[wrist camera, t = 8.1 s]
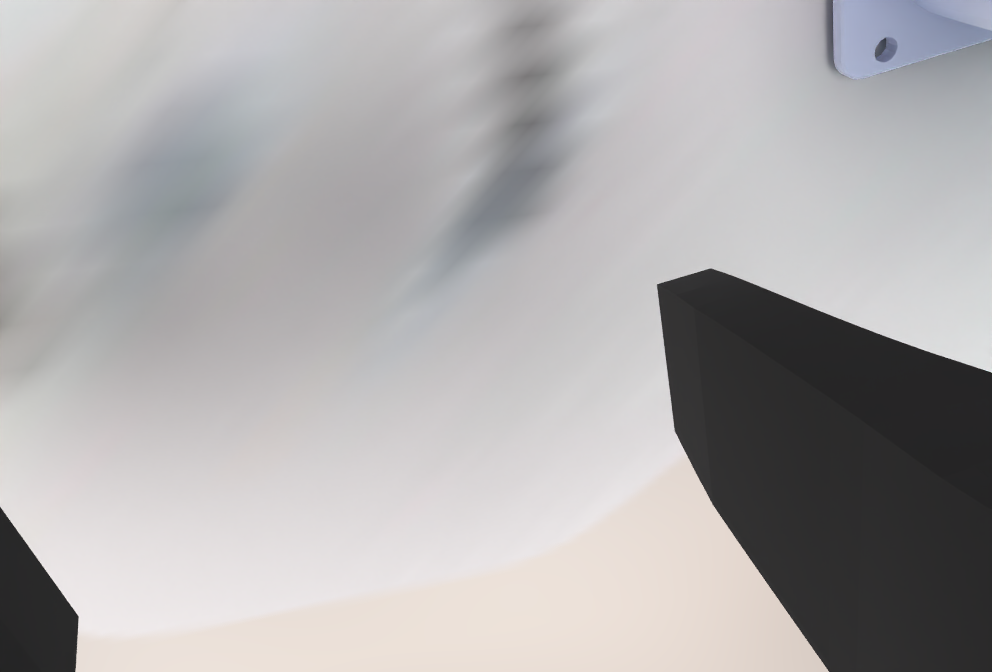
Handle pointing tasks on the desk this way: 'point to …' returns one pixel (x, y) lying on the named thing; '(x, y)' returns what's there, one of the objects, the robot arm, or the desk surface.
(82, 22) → the desk surface
